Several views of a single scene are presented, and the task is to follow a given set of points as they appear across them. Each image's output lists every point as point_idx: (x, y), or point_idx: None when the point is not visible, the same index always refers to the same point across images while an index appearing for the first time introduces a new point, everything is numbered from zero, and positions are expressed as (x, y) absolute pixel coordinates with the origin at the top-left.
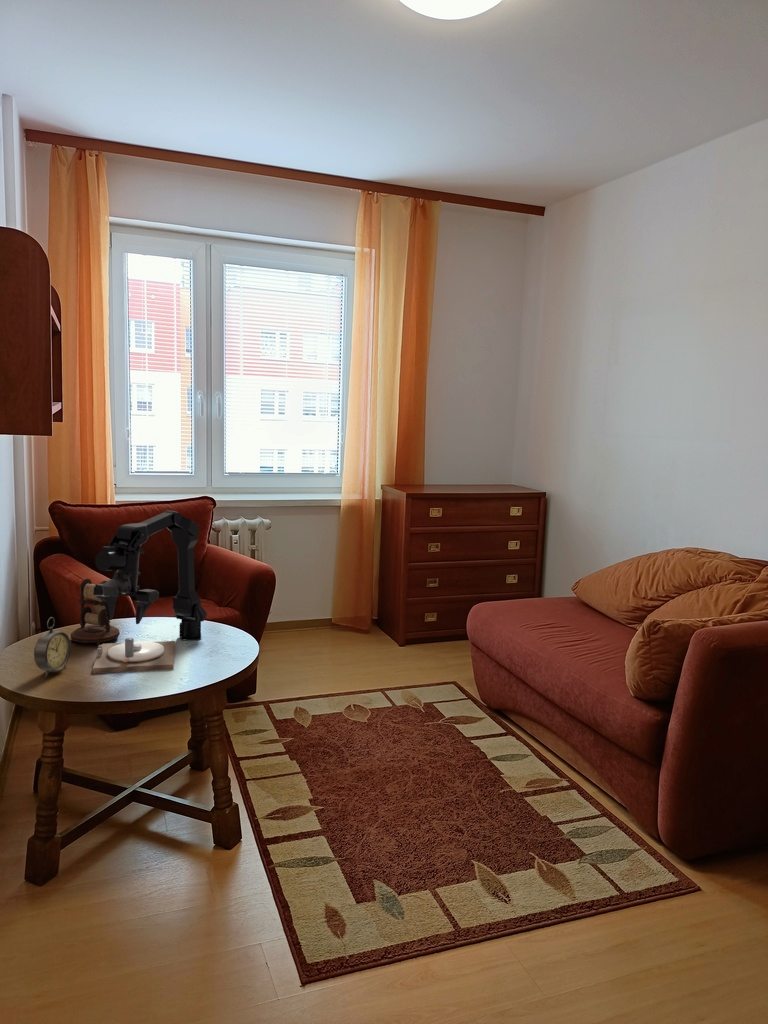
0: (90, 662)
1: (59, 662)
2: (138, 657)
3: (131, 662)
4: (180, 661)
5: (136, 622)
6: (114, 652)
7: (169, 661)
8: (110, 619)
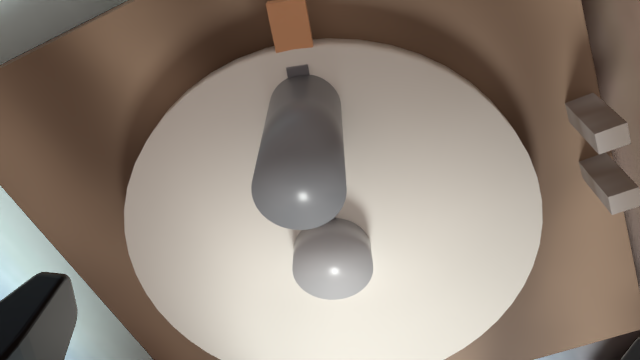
0: (630, 57)
1: None
2: (212, 98)
3: None
4: (28, 232)
5: (35, 290)
6: (469, 154)
7: (3, 151)
8: (637, 347)
